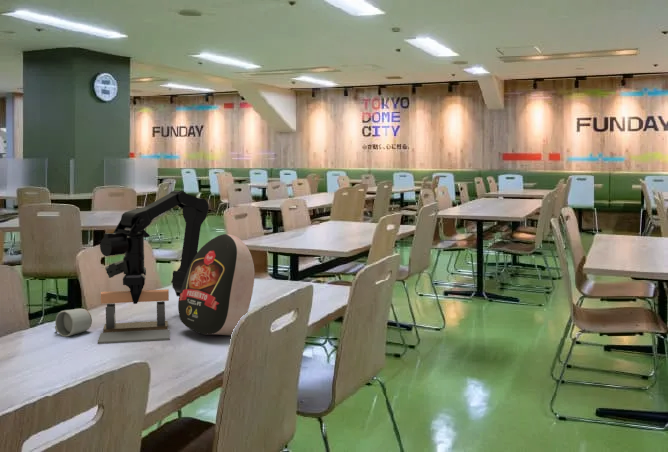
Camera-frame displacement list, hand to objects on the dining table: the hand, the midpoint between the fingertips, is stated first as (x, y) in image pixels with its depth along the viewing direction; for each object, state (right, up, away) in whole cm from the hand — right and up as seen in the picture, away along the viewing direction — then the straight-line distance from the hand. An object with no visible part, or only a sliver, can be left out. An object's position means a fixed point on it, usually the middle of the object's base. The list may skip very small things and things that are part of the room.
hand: (135, 302), depth 213 cm
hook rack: (0, -8, +1) cm, 8 cm away
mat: (+3, -9, -10) cm, 14 cm away
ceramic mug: (-18, -9, -6) cm, 21 cm away
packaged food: (+26, -9, -4) cm, 28 cm away
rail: (0, 0, 0) cm, 0 cm away
